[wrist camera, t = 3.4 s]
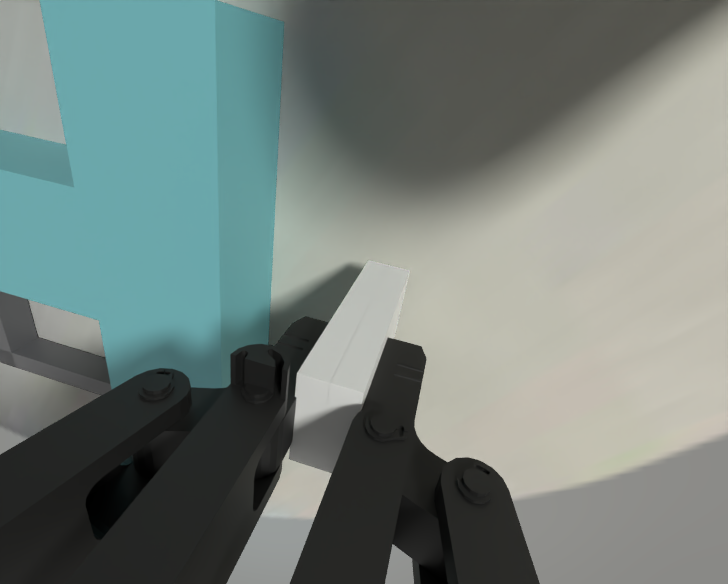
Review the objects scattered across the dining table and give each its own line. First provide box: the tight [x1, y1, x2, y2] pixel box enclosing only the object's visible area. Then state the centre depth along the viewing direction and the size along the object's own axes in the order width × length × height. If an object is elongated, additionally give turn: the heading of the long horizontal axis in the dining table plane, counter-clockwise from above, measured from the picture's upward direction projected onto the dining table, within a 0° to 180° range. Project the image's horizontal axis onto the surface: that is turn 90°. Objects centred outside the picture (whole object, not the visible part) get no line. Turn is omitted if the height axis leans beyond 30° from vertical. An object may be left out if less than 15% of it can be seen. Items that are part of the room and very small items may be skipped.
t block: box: [0, 0, 284, 389], centre depth 16 cm, size 16×16×4 cm
